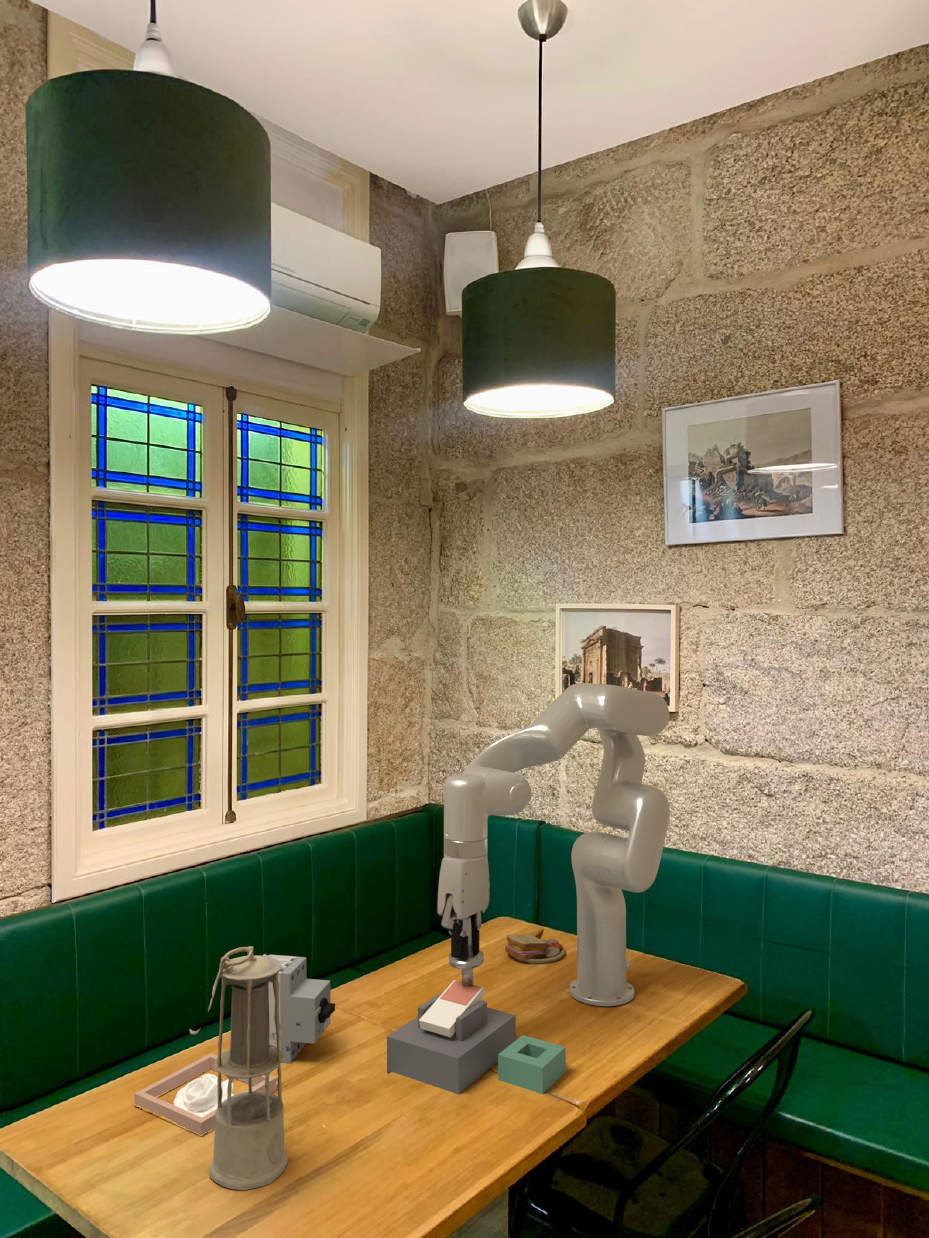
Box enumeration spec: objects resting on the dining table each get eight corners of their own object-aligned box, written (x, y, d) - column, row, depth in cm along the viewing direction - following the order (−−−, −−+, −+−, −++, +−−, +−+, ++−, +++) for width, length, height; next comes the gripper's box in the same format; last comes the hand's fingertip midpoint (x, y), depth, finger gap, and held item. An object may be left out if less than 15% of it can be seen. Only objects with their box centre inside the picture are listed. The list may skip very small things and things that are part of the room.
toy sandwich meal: (574, 961, 194) (574, 939, 194) (517, 969, 189) (517, 947, 189) (549, 941, 206) (549, 921, 206) (495, 949, 201) (495, 928, 201)
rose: (251, 1069, 139) (211, 1101, 130) (251, 1098, 139) (211, 1131, 130) (198, 1058, 143) (156, 1087, 134) (199, 1085, 143) (156, 1117, 134)
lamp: (300, 1170, 120) (298, 948, 120) (205, 1209, 112) (204, 971, 112) (269, 1135, 128) (267, 927, 128) (178, 1168, 121) (177, 947, 121)
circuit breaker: (324, 1066, 148) (324, 976, 148) (244, 1059, 151) (244, 970, 151) (340, 1045, 155) (339, 959, 155) (263, 1038, 158) (262, 954, 158)
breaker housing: (448, 1029, 161) (448, 977, 161) (515, 1049, 153) (515, 994, 153) (386, 1072, 146) (386, 1014, 146) (458, 1097, 138) (458, 1035, 138)
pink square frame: (211, 1064, 149) (211, 1052, 149) (276, 1089, 141) (276, 1077, 141) (134, 1106, 136) (134, 1093, 136) (201, 1136, 128) (201, 1122, 128)
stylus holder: (522, 1061, 149) (522, 1034, 149) (565, 1074, 145) (565, 1046, 145) (498, 1082, 143) (498, 1054, 143) (542, 1096, 138) (542, 1067, 138)
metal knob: (462, 972, 158) (458, 906, 157) (491, 979, 155) (487, 912, 154) (443, 987, 153) (439, 919, 152) (473, 995, 150) (468, 925, 149)
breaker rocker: (455, 987, 156) (454, 978, 156) (485, 995, 153) (483, 986, 152) (420, 1028, 147) (418, 1019, 147) (450, 1037, 144) (449, 1027, 143)
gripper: (472, 835, 162) (472, 937, 162) (420, 854, 149) (419, 965, 148) (508, 841, 158) (507, 945, 158) (457, 860, 145) (457, 974, 144)
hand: (465, 953), depth 153 cm, fingers closed on metal knob, 2 cm apart
